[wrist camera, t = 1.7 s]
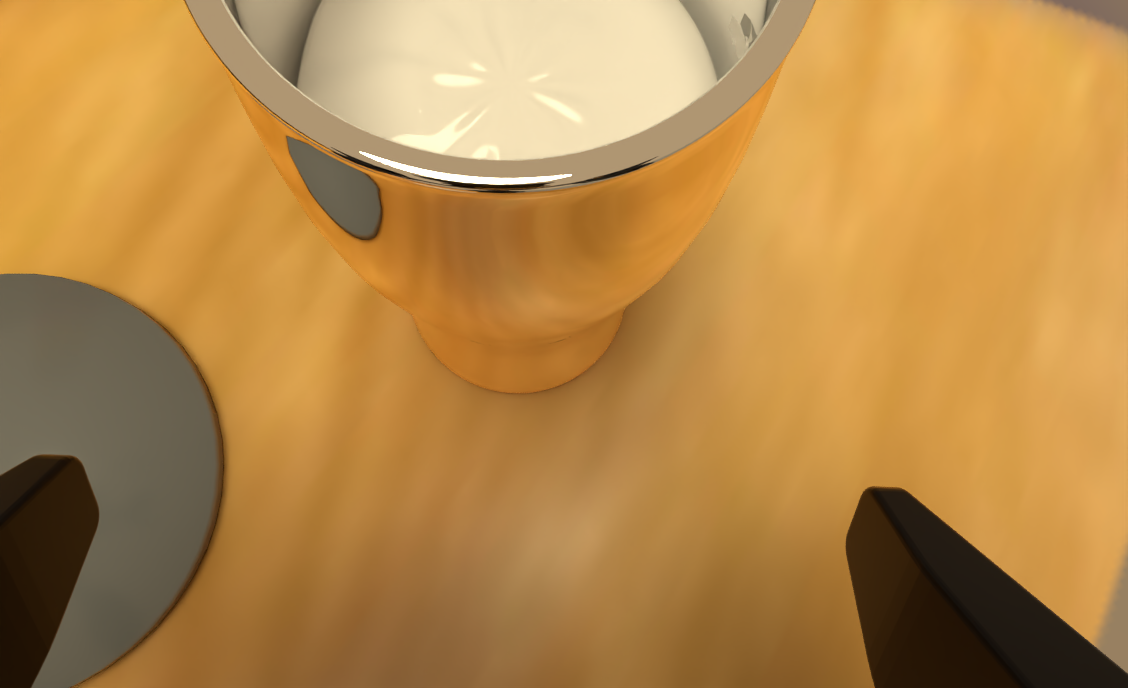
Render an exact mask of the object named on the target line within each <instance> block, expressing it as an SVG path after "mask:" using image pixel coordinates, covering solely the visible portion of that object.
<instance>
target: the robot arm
mask: <svg viewBox="0 0 1128 688" xmlns="http://www.w3.org/2000/svg"><path fill="white" fill-rule="evenodd" d="M98 523H99V507H98V503H97V500H96V498H95V495H94V492H93V490H92V487H91V484H90V482H89V479H88V476H87V474H86V471H85V468H84V466H83V464H82V462H81V461H80V460H79V459H78V458H77V457H75V456H72V455H53V454H41V455H36V456H33V457H31V458H29V459H27V460H26V461H24V462H22V463H20V464H19V465H17V466H15V467H13V468H12V469H10V470H8V471H6V472H5V473H3V474H1V475H0V688H31V687H32V685H33V683H34V681H35V680H36V678H37V676H38V674H39V672H40V670H41V668H42V665H43V663H44V661H45V659H46V657H47V655H48V653H49V651H50V649H51V646H52V644H53V641H54V639H55V637H56V634H57V632H58V629H59V627H60V624H61V622H62V619H63V616H64V614H65V611H66V609H67V606H68V603H69V601H70V598H71V596H72V593H73V590H74V588H75V585H76V583H77V580H78V577H79V575H80V572H81V570H82V567H83V564H84V562H85V559H86V557H87V554H88V551H89V549H90V546H91V544H92V541H93V538H94V536H95V533H96V531H97V527H98ZM846 555H847V560H848V565H849V570H850V575H851V580H852V585H853V590H854V595H855V600H856V605H857V609H858V614H859V619H860V624H861V629H862V634H863V639H864V644H865V649H866V654H867V658H868V662H869V667H870V671H871V675H872V679H873V682H874V686H875V688H1128V673H1126V672H1125V671H1124V670H1123V669H1121V668H1120V667H1119V666H1118V665H1117V664H1115V663H1114V662H1113V661H1112V660H1111V659H1109V658H1108V657H1107V656H1106V655H1105V654H1103V653H1102V652H1101V651H1100V650H1098V649H1097V648H1096V647H1095V646H1094V645H1092V644H1091V643H1090V642H1089V641H1088V640H1086V639H1085V638H1084V637H1083V636H1082V635H1080V634H1079V633H1078V632H1077V631H1076V630H1074V629H1073V628H1072V627H1071V626H1069V625H1068V624H1067V623H1066V622H1065V621H1063V620H1062V619H1061V618H1060V617H1059V616H1057V615H1056V614H1055V613H1054V612H1053V611H1051V610H1050V609H1049V608H1048V607H1046V606H1045V605H1044V604H1043V603H1042V602H1040V601H1039V600H1038V599H1037V598H1036V597H1034V596H1033V595H1032V594H1031V593H1030V592H1028V591H1027V590H1026V589H1025V588H1024V587H1022V586H1021V585H1020V584H1019V583H1017V582H1016V581H1015V580H1014V579H1013V578H1011V577H1010V576H1009V575H1008V574H1007V573H1005V572H1004V571H1003V570H1002V569H1001V568H999V567H998V566H997V565H996V564H994V563H993V562H992V561H991V560H990V559H988V558H987V557H986V556H985V555H984V554H982V553H981V552H980V551H979V550H978V549H976V548H975V547H974V546H973V545H972V544H970V543H969V542H968V541H967V540H965V539H964V538H963V537H962V536H961V535H959V534H958V533H957V532H956V531H955V530H953V529H952V528H951V527H950V526H949V525H947V524H946V523H945V522H944V521H942V520H941V519H940V518H939V517H938V516H936V515H935V514H934V513H933V512H932V511H930V510H929V509H928V508H927V507H926V506H924V505H923V504H922V503H921V502H920V501H918V500H917V499H916V498H915V497H913V496H912V495H911V494H910V493H909V492H907V491H906V490H904V489H902V488H897V487H875V486H873V487H868V488H867V489H865V491H864V492H863V493H862V495H861V498H860V500H859V503H858V506H857V508H856V511H855V514H854V517H853V519H852V522H851V525H850V527H849V530H848V533H847V537H846Z"/></svg>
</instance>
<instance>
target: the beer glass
mask: <svg viewBox="0 0 1128 688" xmlns="http://www.w3.org/2000/svg"><path fill="white" fill-rule="evenodd" d="M183 1H184V3H185V5H186V8H187V10H188V12H189V14H190V16H191V18H192V20H193V22H194V24H195V25H196V27H197V29H198V31H199V32H200V34H201V36H202V37H203V39H204V41H205V42H206V44H207V45H208V47H209V48H210V50H211V51H212V52H213V54H214V55H215V57H216V58H217V59H218V60H219V62H220V63H221V64H222V66H223V68H224V69H225V71H226V73H227V75H228V77H229V79H230V81H231V83H232V85H233V87H234V89H235V91H236V93H237V95H238V97H239V99H240V101H241V103H242V105H243V107H244V109H245V111H246V113H247V115H248V117H249V119H250V121H251V123H252V124H253V126H254V128H255V130H256V132H257V134H258V135H259V137H260V139H261V141H262V143H263V145H264V146H265V148H266V150H267V152H268V154H269V156H270V157H271V159H272V161H273V163H274V165H275V166H276V168H277V170H278V171H279V173H280V175H281V176H282V178H283V179H284V181H285V182H286V184H287V185H288V187H289V188H290V190H291V191H292V193H293V195H294V196H295V198H296V199H297V201H298V202H299V204H300V205H301V207H302V208H303V210H304V211H305V213H306V214H307V216H308V217H309V219H310V220H311V222H312V223H313V224H314V225H315V227H316V228H317V229H318V231H319V232H320V233H321V234H322V235H323V237H324V238H325V239H326V240H327V241H328V242H329V244H330V245H331V246H332V247H333V248H334V249H335V250H336V251H337V253H338V254H339V255H340V256H341V257H342V258H343V259H344V261H345V262H346V263H347V264H348V265H349V266H350V267H351V268H352V269H353V270H354V271H355V272H356V273H357V274H358V275H359V276H360V277H361V278H362V279H363V280H364V281H365V282H366V283H367V284H369V285H370V286H371V287H372V288H373V289H375V290H376V291H377V292H378V293H380V294H381V295H382V296H384V297H385V298H387V299H388V300H390V301H391V302H393V303H394V304H396V305H397V306H399V307H400V308H402V309H403V310H405V311H406V312H408V313H409V314H411V315H413V318H414V321H415V324H416V326H417V329H418V331H419V333H420V335H421V337H422V338H423V340H424V342H425V343H426V345H427V346H428V347H429V349H430V350H431V351H432V353H433V354H434V355H435V356H436V357H437V358H438V359H439V360H440V361H441V362H442V363H443V364H444V365H445V366H446V367H447V368H448V369H449V370H451V371H452V372H453V373H455V374H456V375H458V376H459V377H461V378H462V379H464V380H466V381H468V382H470V383H472V384H474V385H477V386H479V387H482V388H485V389H489V390H493V391H498V392H504V393H532V392H538V391H543V390H547V389H551V388H554V387H557V386H559V385H562V384H564V383H566V382H568V381H570V380H572V379H574V378H575V377H577V376H579V375H580V374H582V373H583V372H584V371H586V370H587V369H588V368H589V367H591V366H592V365H593V364H594V363H595V362H596V361H597V360H598V359H599V358H600V357H601V356H602V354H603V353H604V352H605V351H606V349H607V348H608V347H609V345H610V344H611V342H612V340H613V339H614V337H615V335H616V333H617V331H618V328H619V326H620V323H621V320H622V317H623V313H624V309H625V308H626V307H627V306H628V305H630V304H631V303H632V302H634V301H635V300H636V299H637V298H639V297H640V296H641V295H643V294H644V293H645V292H646V291H648V290H649V289H650V288H651V287H653V286H654V285H655V284H656V283H657V282H658V281H659V280H660V279H661V278H663V277H664V276H665V275H666V274H667V272H668V271H669V270H670V269H671V268H672V267H673V266H674V265H675V264H676V262H677V261H678V260H679V259H680V258H681V256H682V255H683V254H684V252H685V251H686V250H687V248H688V247H689V246H690V244H691V243H692V242H693V240H694V239H695V238H696V236H697V235H698V234H699V233H700V231H701V230H702V229H703V227H704V226H705V224H706V223H707V222H708V220H709V219H710V217H711V216H712V214H713V212H714V211H715V209H716V207H717V206H718V204H719V202H720V200H721V199H722V197H723V195H724V193H725V191H726V189H727V188H728V186H729V184H730V182H731V180H732V178H733V177H734V175H735V173H736V171H737V169H738V167H739V166H740V164H741V162H742V160H743V158H744V156H745V154H746V152H747V149H748V147H749V145H750V143H751V140H752V138H753V136H754V134H755V131H756V129H757V127H758V125H759V122H760V120H761V118H762V116H763V113H764V111H765V109H766V106H767V104H768V102H769V99H770V97H771V94H772V92H773V89H774V87H775V84H776V82H777V79H778V77H779V74H780V72H781V69H782V67H783V64H784V62H785V60H786V57H787V55H788V54H789V52H790V51H791V49H792V48H793V46H794V44H795V43H796V41H797V39H798V37H799V36H800V34H801V32H802V30H803V28H804V26H805V24H806V22H807V20H808V18H809V16H810V13H811V11H812V9H813V6H814V4H815V1H816V0H183Z"/></svg>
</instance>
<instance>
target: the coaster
mask: <svg viewBox="0 0 1128 688" xmlns="http://www.w3.org/2000/svg"><path fill="white" fill-rule="evenodd" d="M41 454H53V455H72V456H75V457H77V458H78V459H79V460H80V461H81V462H82V464H83V466H84V468H85V471H86V474H87V476H88V479H89V482H90V484H91V487H92V490H93V492H94V495H95V498H96V500H97V503H98V507H99V523H98V527H97V531H96V533H95V536H94V538H93V541H92V544H91V546H90V549H89V551H88V554H87V557H86V559H85V562H84V564H83V567H82V570H81V572H80V575H79V577H78V580H77V583H76V585H75V588H74V590H73V593H72V596H71V598H70V601H69V603H68V606H67V609H66V611H65V614H64V616H63V619H62V622H61V624H60V627H59V629H58V632H57V634H56V637H55V639H54V641H53V644H52V646H51V649H50V651H49V653H48V655H47V657H46V659H45V661H44V663H43V665H42V668H41V670H40V672H39V674H38V676H37V678H36V680H35V681H34V683H33V685H32V687H31V688H70V687H72V686H75V685H77V684H79V683H82V682H84V681H86V680H87V679H89V678H91V677H92V676H94V675H96V674H98V673H99V672H101V671H103V670H104V669H106V668H108V667H110V666H111V665H112V664H114V663H115V662H116V661H118V660H119V659H120V658H122V657H123V656H124V655H126V654H127V653H128V652H130V651H131V650H132V649H134V648H135V647H136V646H137V645H138V644H139V643H140V642H141V641H142V640H143V639H144V638H145V637H147V636H148V635H149V634H150V633H151V632H152V631H153V630H154V629H155V628H156V627H157V626H158V625H159V624H160V622H161V621H162V620H163V619H164V618H165V616H166V615H167V614H168V613H169V611H170V610H171V609H172V608H173V607H174V605H175V604H176V603H177V602H178V600H179V599H180V597H181V595H182V594H183V592H184V591H185V589H186V588H187V586H188V585H189V583H190V581H191V580H192V578H193V577H194V575H195V573H196V571H197V569H198V566H199V564H200V562H201V560H202V558H203V556H204V554H205V552H206V550H207V547H208V544H209V541H210V538H211V535H212V532H213V529H214V526H215V523H216V519H217V515H218V510H219V505H220V500H221V495H222V482H223V468H224V465H223V448H222V437H221V432H220V427H219V422H218V417H217V413H216V410H215V407H214V404H213V401H212V399H211V396H210V393H209V390H208V388H207V386H206V384H205V382H204V380H203V378H202V376H201V374H200V372H199V370H198V369H197V367H196V365H195V364H194V362H193V361H192V360H191V358H190V357H189V355H188V354H187V353H186V351H185V350H184V348H183V347H182V346H181V345H180V344H179V343H178V342H177V341H176V339H175V338H174V337H173V336H172V335H171V334H170V333H169V332H168V331H167V330H166V329H165V328H164V327H163V326H161V325H160V324H159V323H158V322H156V321H155V320H154V319H152V318H151V317H150V316H149V315H147V314H146V313H145V312H143V311H141V310H140V309H138V308H136V307H134V306H133V305H131V304H129V303H127V302H126V301H124V300H122V299H120V298H118V297H116V296H114V295H112V294H110V293H108V292H105V291H103V290H100V289H98V288H95V287H93V286H91V285H88V284H85V283H81V282H77V281H73V280H70V279H66V278H62V277H55V276H47V275H39V274H0V475H1V474H3V473H5V472H6V471H8V470H10V469H12V468H13V467H15V466H17V465H19V464H20V463H22V462H24V461H26V460H27V459H29V458H31V457H33V456H36V455H41Z"/></svg>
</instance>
